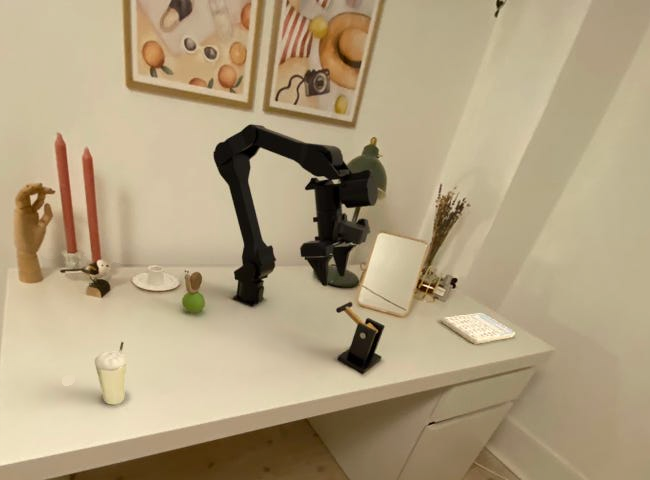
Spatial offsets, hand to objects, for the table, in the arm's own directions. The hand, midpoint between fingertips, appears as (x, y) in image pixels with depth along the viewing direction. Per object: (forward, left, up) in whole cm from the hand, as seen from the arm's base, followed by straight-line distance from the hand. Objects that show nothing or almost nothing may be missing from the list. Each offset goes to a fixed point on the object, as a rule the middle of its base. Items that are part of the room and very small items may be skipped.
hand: (334, 280), depth 89 cm
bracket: (+12, -5, -14) cm, 20 cm away
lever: (+9, -5, -6) cm, 12 cm away
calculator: (+38, +39, -15) cm, 56 cm away
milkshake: (-19, -48, -15) cm, 54 cm away
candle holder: (-46, -9, -15) cm, 49 cm away
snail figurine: (-29, -15, -15) cm, 36 cm away
